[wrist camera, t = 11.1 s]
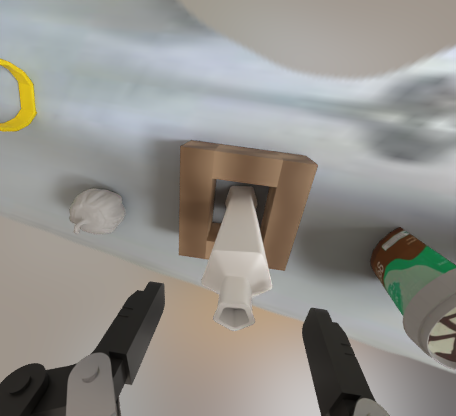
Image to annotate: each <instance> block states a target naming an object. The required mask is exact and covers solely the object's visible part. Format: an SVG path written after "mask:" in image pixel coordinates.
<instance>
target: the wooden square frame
mask: <svg viewBox="0 0 456 416" xmlns="http://www.w3.org/2000/svg"><path fill="white" fill-rule="evenodd" d="M317 167H318V165H317V164H316V163H315V162H313V161H312V160H311V159H310V158H308V157H307V156H304V155H297V154H290V153H282V152H275V151H268V150H260V149H253V148H245V147H238V146H231V145H223V144H216V143H209V142H201V141H194V140H191V141H189V142H187V143H185V144H184V145H182V146H180V209H179V255H182V256H189V257H195V258H202V259H209V258H210V255H211V252H212V249H213V246H214V243H215V241H216V238H217V235H218V232H219V229H220V226H221V223H214V222H212V220H213V210H214V199H215V189H216V179H220V180H227V181H234V182H241V183H248V184H256V185H263V186H269V190H268V195H267V200H266V204H265V209H264V213H263V218H262V222H261V227H260V233H261V237H262V241H263V246H264V250H265V255H266V259H267V264H268V268H269V269H276V270H283V271H285V268H286V265H287V262H288V259H289V255H290V252H291V249H292V246H293V243H294V240H295V236H296V233H297V230H298V227H299V224H300V221H301V218H302V214H303V211H304V208H305V205H306V202H307V199H308V195H309V192H310V189H311V186H312V183H313V180H314V176H315V173H316V170H317Z"/></svg>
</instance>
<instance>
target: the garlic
mask: <svg viewBox="0 0 456 416" xmlns="http://www.w3.org/2000/svg"><path fill="white" fill-rule="evenodd" d="M69 211H70V217H69V219H70V221H71V222H72V223H74V224H76V225H75V227H74V233H75V234H78V233H79V232H80V229H82V230H83V231H86V232H89V233H93V234H109V233H112V232H113V231H114V230H115V229H116V228H117V226H118V225H119V224H120V223H121V222H122V221H123V219H124V216H125V208H124V206H123V204H122V197H121V196H120V195H119V194H117V193H113V192H111V191H109V190H105V189H95V188H92V189H88V190H85V191H83V192H82V193H80V194H78V195H77V196H76V198H75V199H74V202H73V203H72V204H71V206H70V209H69Z"/></svg>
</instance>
